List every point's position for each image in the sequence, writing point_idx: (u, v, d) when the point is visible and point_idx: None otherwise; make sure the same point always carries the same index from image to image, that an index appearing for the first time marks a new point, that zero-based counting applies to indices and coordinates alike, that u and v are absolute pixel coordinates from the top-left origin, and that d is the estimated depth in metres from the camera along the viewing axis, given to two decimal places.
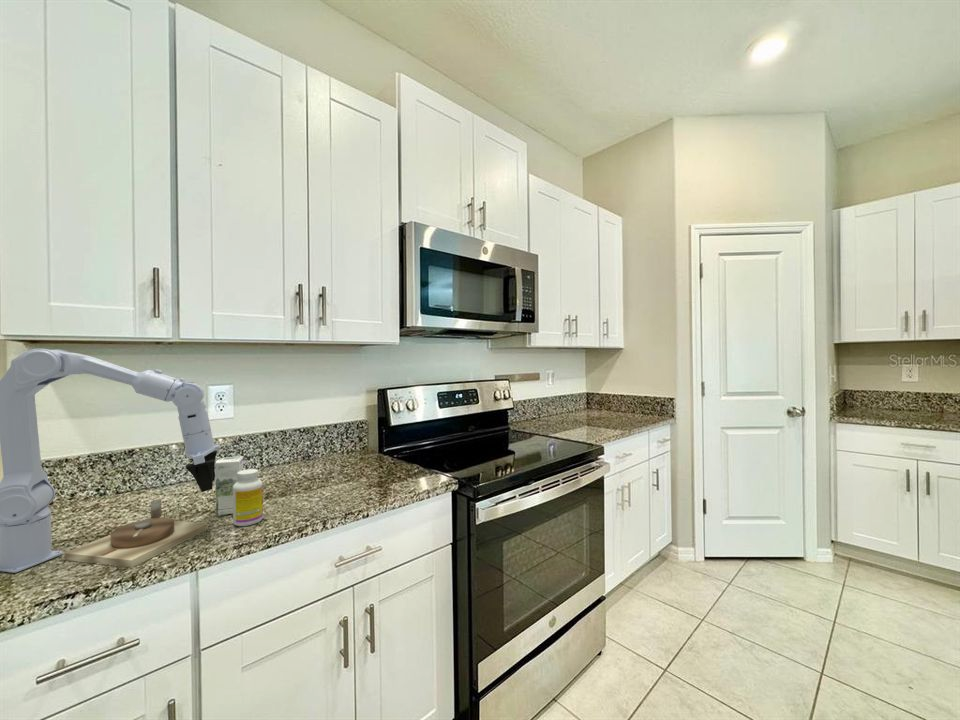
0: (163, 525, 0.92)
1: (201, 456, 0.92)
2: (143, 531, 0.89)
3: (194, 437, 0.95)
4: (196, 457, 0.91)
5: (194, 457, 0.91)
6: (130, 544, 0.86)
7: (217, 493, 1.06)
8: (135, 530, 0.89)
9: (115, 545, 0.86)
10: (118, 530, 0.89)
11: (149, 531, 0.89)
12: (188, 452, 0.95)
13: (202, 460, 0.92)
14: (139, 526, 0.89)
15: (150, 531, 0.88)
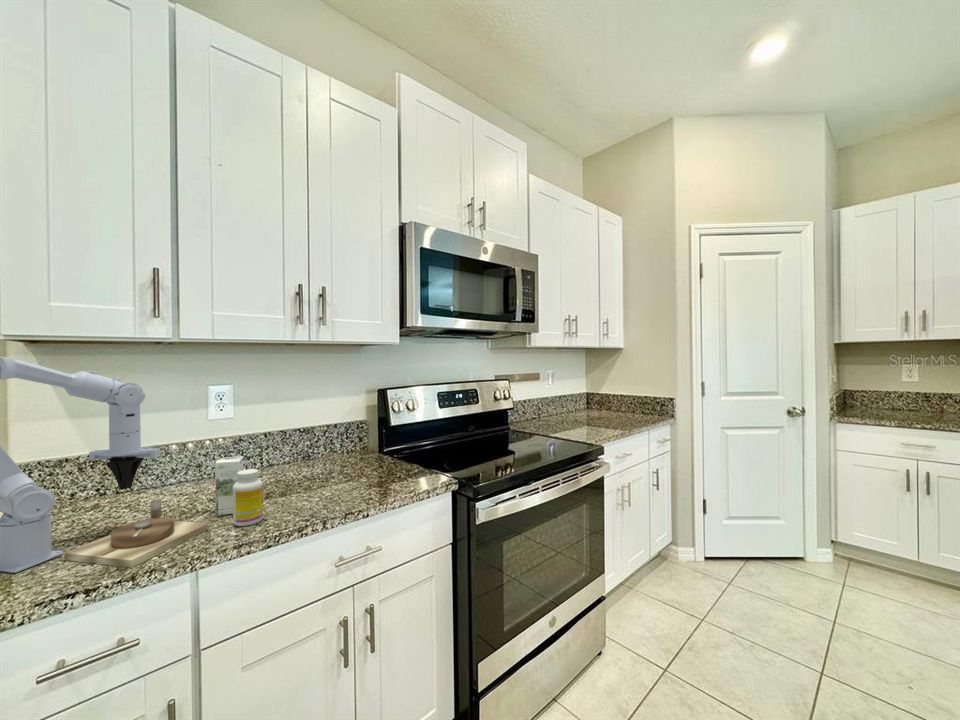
0: (163, 525, 0.92)
1: (159, 450, 0.99)
2: (143, 531, 0.89)
3: (136, 435, 0.98)
4: (157, 450, 0.98)
5: (155, 450, 0.98)
6: (130, 544, 0.86)
7: (217, 493, 1.06)
8: (135, 530, 0.89)
9: (115, 545, 0.86)
10: (118, 530, 0.89)
11: (149, 531, 0.89)
12: (126, 450, 0.96)
13: (159, 454, 0.99)
14: (139, 526, 0.89)
15: (150, 531, 0.88)
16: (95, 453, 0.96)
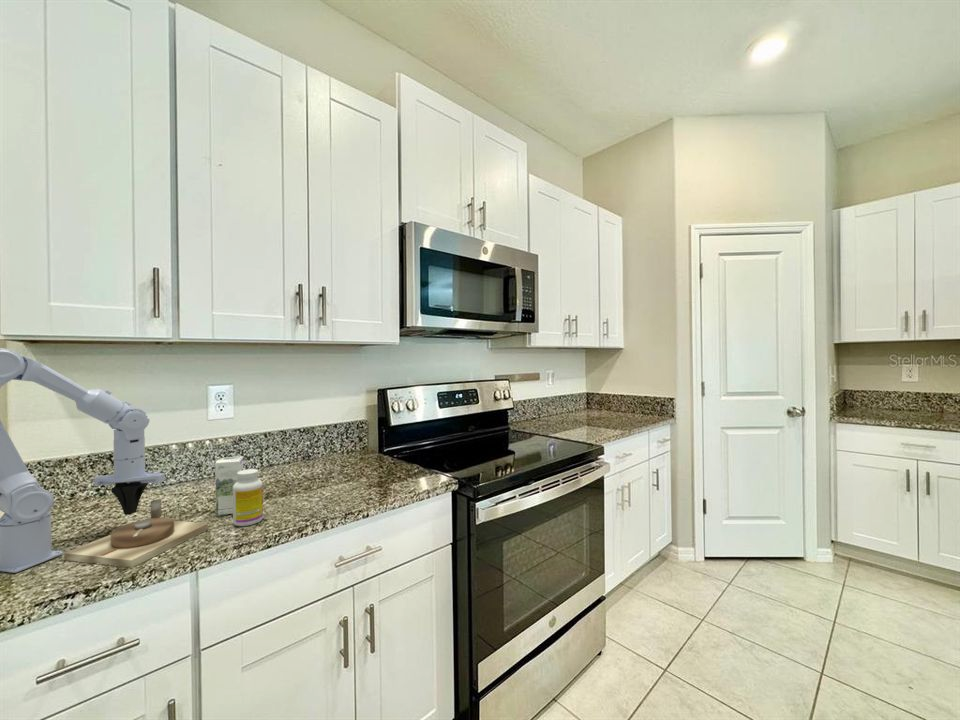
0: (163, 525, 0.92)
1: (164, 475, 0.99)
2: (143, 531, 0.89)
3: (141, 460, 0.98)
4: (161, 475, 0.98)
5: (160, 476, 0.98)
6: (130, 544, 0.86)
7: (217, 493, 1.06)
8: (135, 530, 0.89)
9: (115, 545, 0.86)
10: (118, 530, 0.89)
11: (149, 531, 0.89)
12: (131, 476, 0.96)
13: (164, 478, 0.99)
14: (139, 526, 0.89)
15: (150, 531, 0.88)
16: (100, 479, 0.96)
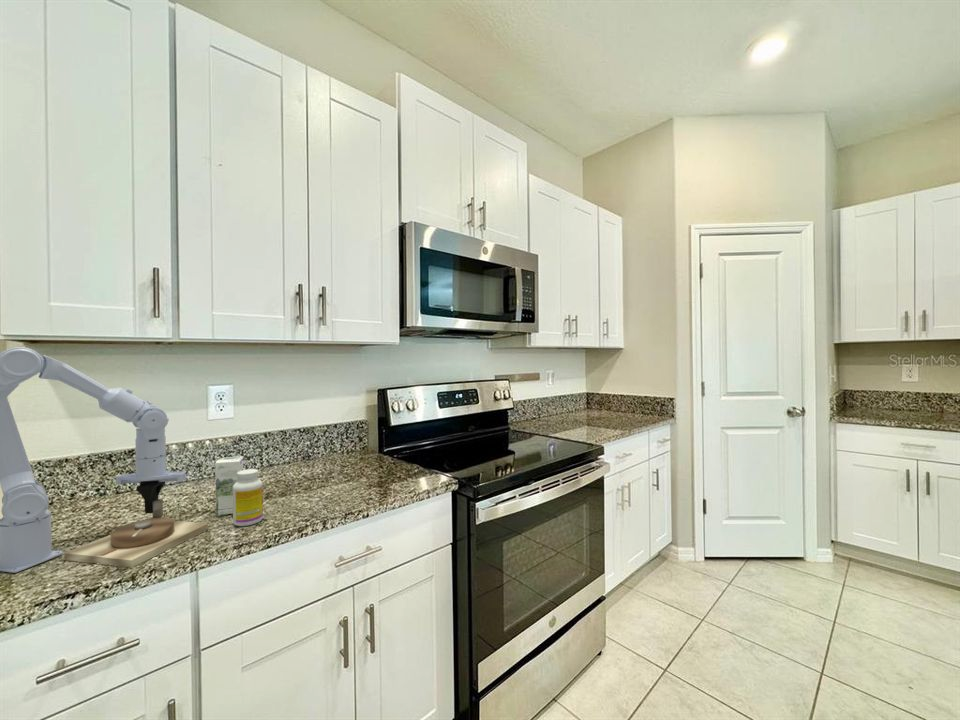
0: (162, 525, 0.91)
1: (185, 473, 1.00)
2: (142, 531, 0.89)
3: (162, 459, 0.99)
4: (182, 474, 0.99)
5: (181, 474, 0.99)
6: (129, 544, 0.86)
7: (217, 493, 1.06)
8: (135, 530, 0.89)
9: (114, 545, 0.86)
10: (118, 530, 0.89)
11: (148, 531, 0.88)
12: (153, 475, 0.97)
13: (185, 477, 1.00)
14: (139, 526, 0.89)
15: (149, 532, 0.88)
16: (122, 478, 0.97)
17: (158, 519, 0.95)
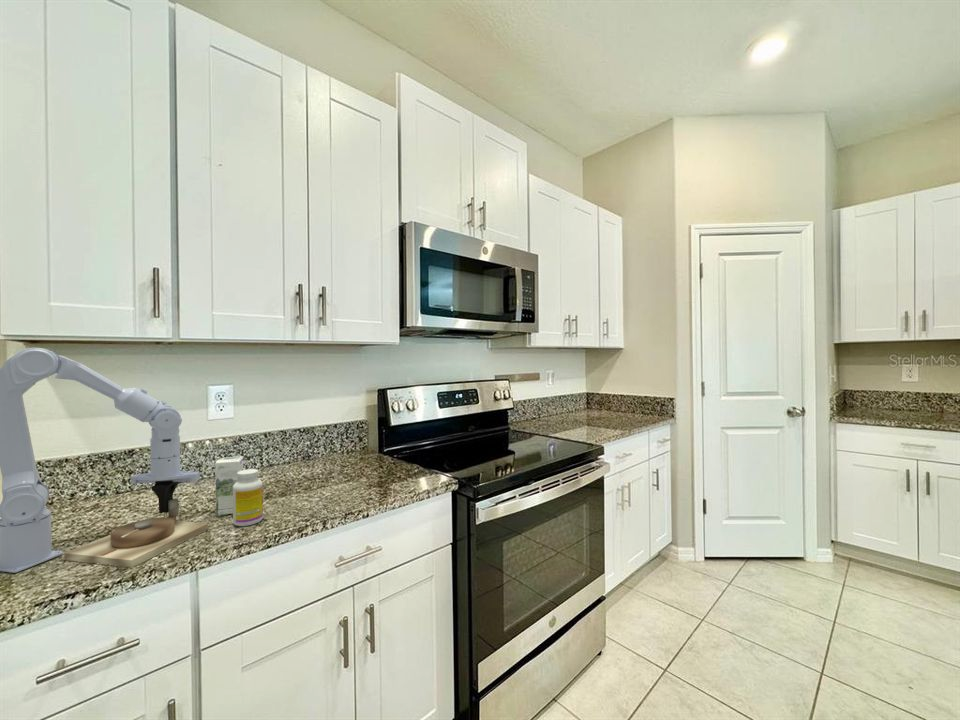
0: (156, 528, 0.90)
1: (199, 473, 1.00)
2: (136, 532, 0.88)
3: (177, 459, 0.99)
4: (197, 474, 0.99)
5: (195, 474, 0.99)
6: (118, 544, 0.85)
7: (217, 493, 1.06)
8: (133, 529, 0.89)
9: None
10: (125, 526, 0.91)
11: (139, 533, 0.87)
12: (167, 475, 0.97)
13: (199, 477, 1.00)
14: (136, 526, 0.89)
15: (138, 534, 0.87)
16: (136, 477, 0.97)
17: (164, 520, 0.95)
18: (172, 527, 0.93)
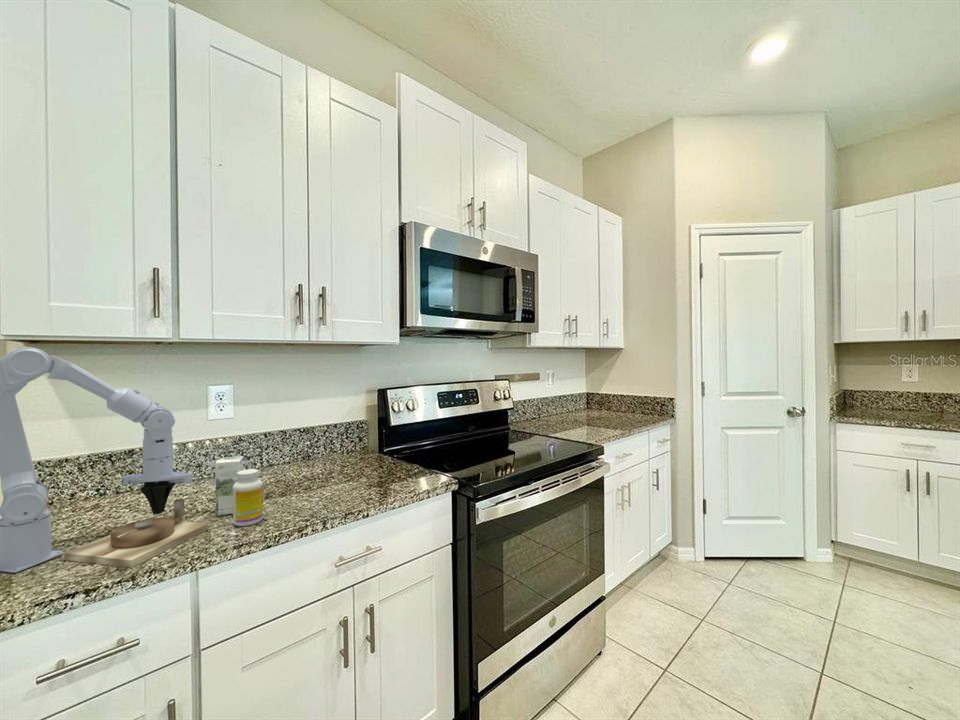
0: (153, 530, 0.89)
1: (191, 474, 1.00)
2: (133, 532, 0.88)
3: (169, 460, 0.98)
4: (189, 475, 0.99)
5: (188, 475, 0.99)
6: (114, 544, 0.86)
7: (217, 493, 1.06)
8: (133, 529, 0.90)
9: None
10: (128, 525, 0.92)
11: (134, 534, 0.87)
12: (159, 476, 0.97)
13: (191, 478, 1.00)
14: (135, 526, 0.89)
15: (133, 535, 0.87)
16: (129, 478, 0.97)
17: (166, 520, 0.94)
18: (170, 529, 0.92)
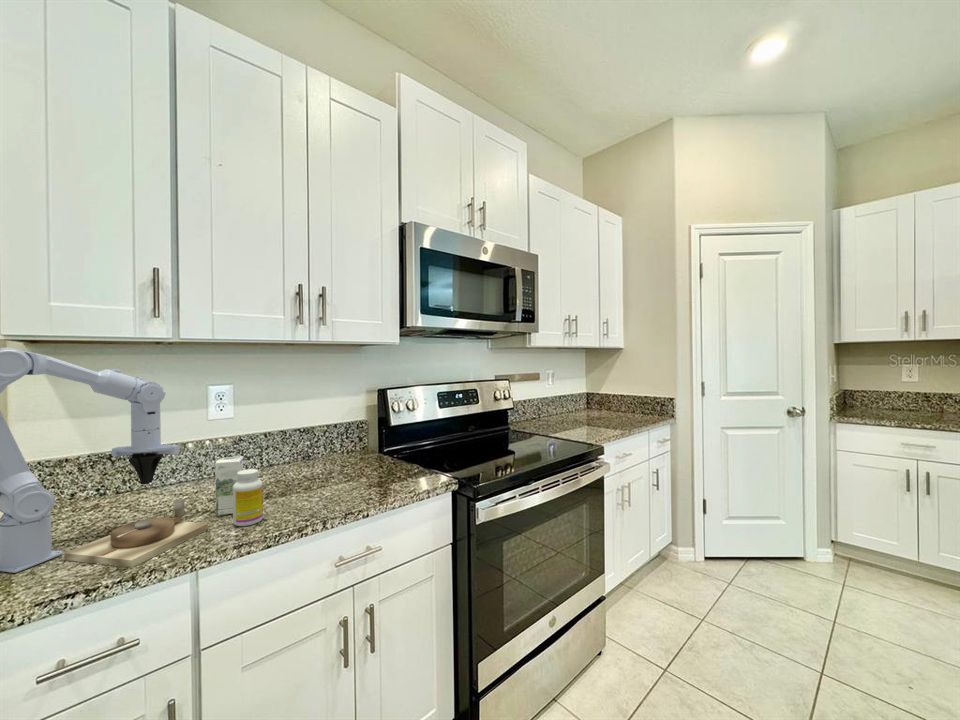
0: (153, 530, 0.89)
1: (179, 446, 1.03)
2: (133, 532, 0.88)
3: (157, 432, 1.01)
4: (176, 447, 1.02)
5: (175, 447, 1.02)
6: (114, 544, 0.86)
7: (217, 493, 1.06)
8: (133, 529, 0.90)
9: None
10: (128, 525, 0.92)
11: (134, 534, 0.87)
12: (147, 447, 0.99)
13: (179, 450, 1.03)
14: (135, 526, 0.89)
15: (133, 535, 0.87)
16: (117, 449, 1.00)
17: (166, 520, 0.94)
18: (170, 529, 0.92)
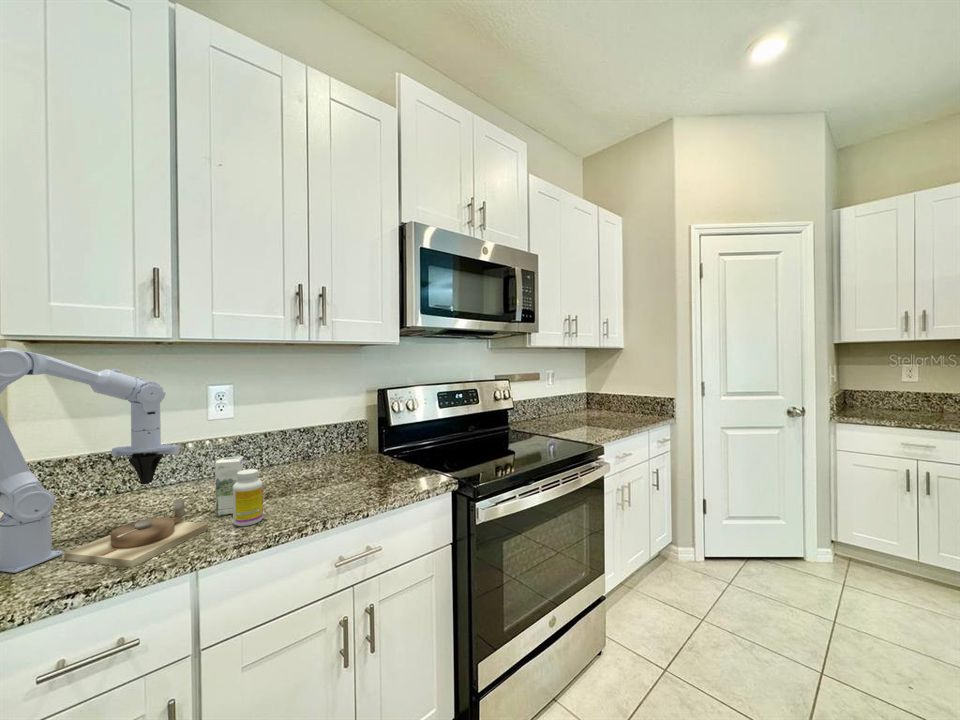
0: (153, 530, 0.89)
1: (179, 446, 1.03)
2: (133, 532, 0.88)
3: (157, 432, 1.01)
4: (176, 447, 1.02)
5: (175, 447, 1.02)
6: (114, 544, 0.86)
7: (217, 493, 1.06)
8: (133, 529, 0.90)
9: None
10: (128, 525, 0.92)
11: (134, 534, 0.87)
12: (147, 447, 0.99)
13: (179, 450, 1.03)
14: (135, 526, 0.89)
15: (133, 535, 0.87)
16: (117, 449, 1.00)
17: (166, 520, 0.94)
18: (170, 529, 0.92)
